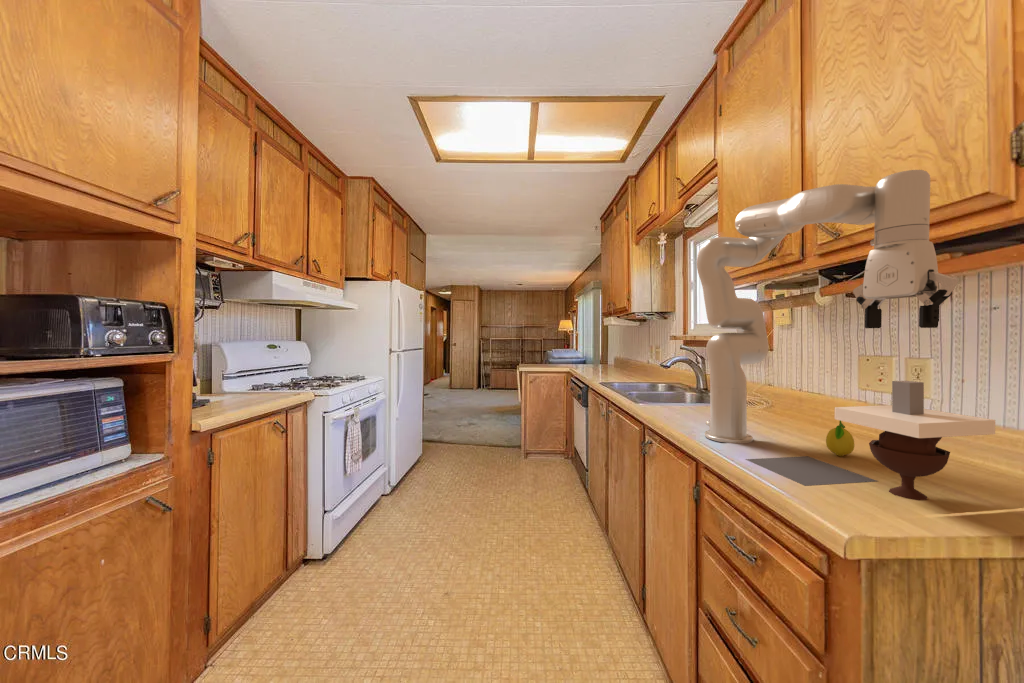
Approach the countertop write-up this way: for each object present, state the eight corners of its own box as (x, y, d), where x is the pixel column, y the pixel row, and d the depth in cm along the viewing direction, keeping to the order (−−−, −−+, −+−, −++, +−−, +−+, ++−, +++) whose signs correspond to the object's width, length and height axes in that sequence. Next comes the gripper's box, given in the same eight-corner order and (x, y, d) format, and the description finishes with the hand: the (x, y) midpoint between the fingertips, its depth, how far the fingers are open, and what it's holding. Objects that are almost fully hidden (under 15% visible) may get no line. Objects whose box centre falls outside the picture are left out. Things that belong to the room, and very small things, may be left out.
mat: (745, 460, 96) (745, 459, 96) (807, 457, 98) (807, 456, 98) (805, 487, 79) (805, 485, 79) (878, 483, 81) (878, 481, 81)
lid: (834, 419, 81) (834, 378, 81) (898, 416, 83) (898, 376, 82) (918, 438, 66) (918, 388, 66) (995, 434, 68) (995, 385, 67)
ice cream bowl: (887, 482, 81) (887, 410, 81) (963, 503, 71) (964, 421, 71) (856, 489, 78) (856, 415, 77) (932, 513, 67) (933, 427, 67)
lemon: (840, 452, 102) (841, 414, 101) (863, 460, 96) (863, 419, 96) (817, 453, 101) (817, 415, 101) (838, 461, 95) (838, 420, 95)
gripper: (840, 248, 83) (839, 328, 83) (938, 226, 66) (935, 327, 66) (871, 249, 84) (870, 328, 84) (975, 227, 67) (973, 327, 67)
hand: (898, 327), depth 75 cm, fingers open, 9 cm apart
